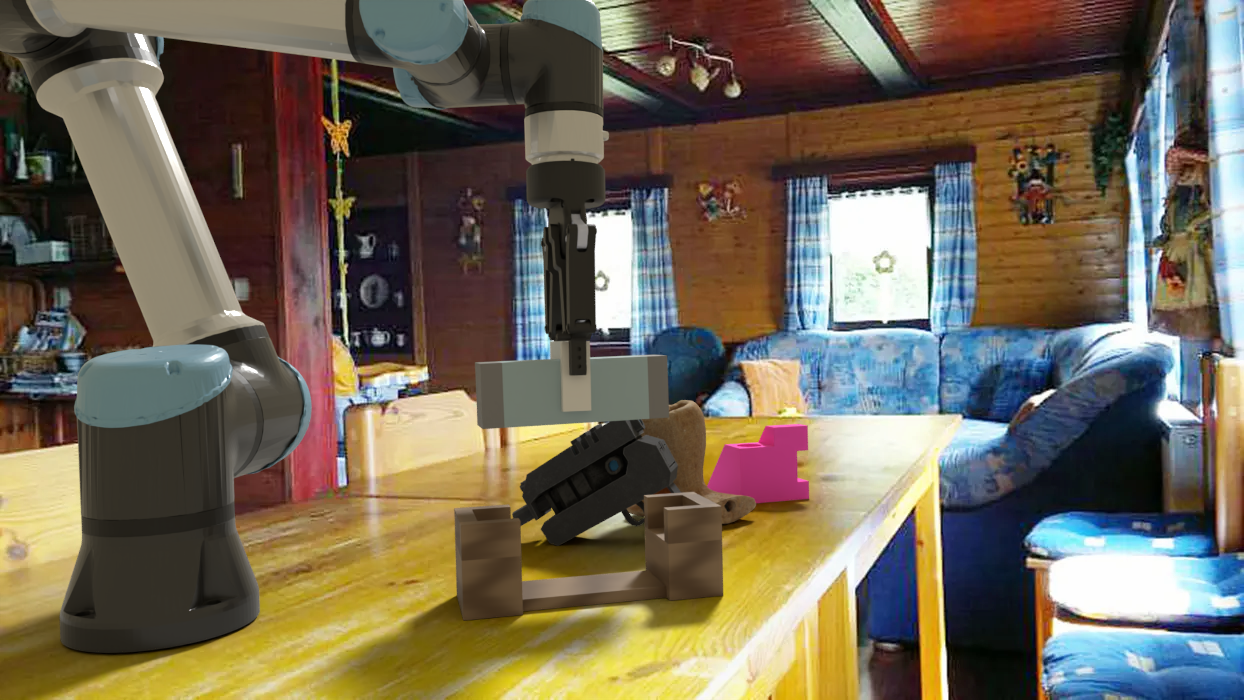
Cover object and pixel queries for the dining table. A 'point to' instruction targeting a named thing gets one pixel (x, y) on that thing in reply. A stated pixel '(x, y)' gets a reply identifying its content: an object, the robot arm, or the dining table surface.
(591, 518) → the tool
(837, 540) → the dining table surface
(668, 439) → the brown boot
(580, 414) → the rail
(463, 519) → the posts
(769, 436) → the bracket
